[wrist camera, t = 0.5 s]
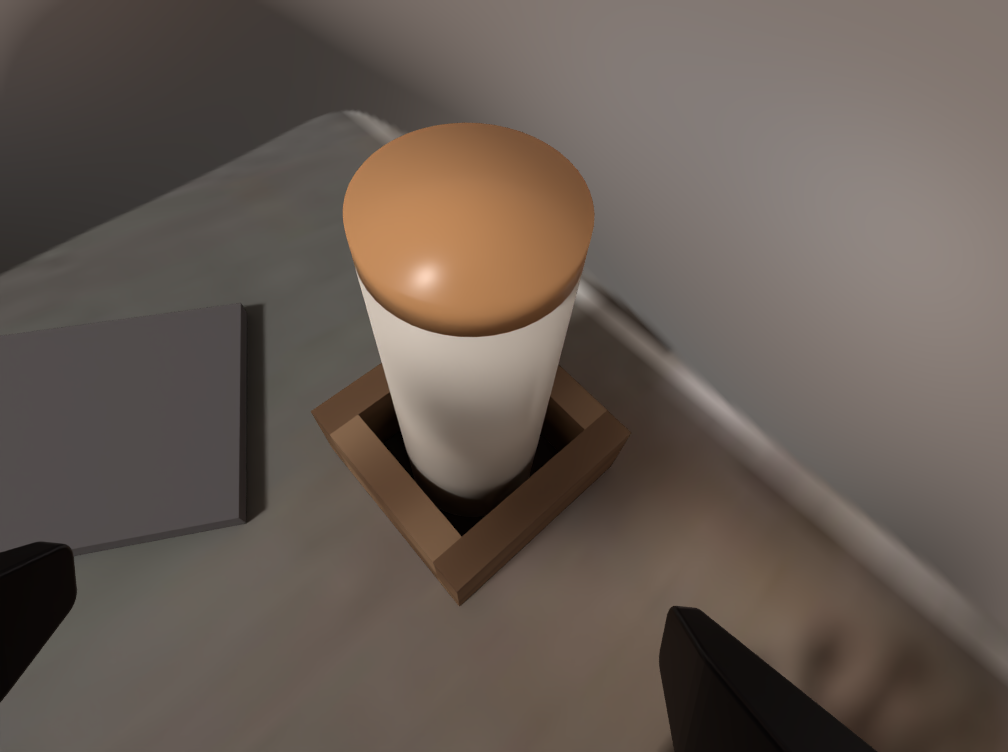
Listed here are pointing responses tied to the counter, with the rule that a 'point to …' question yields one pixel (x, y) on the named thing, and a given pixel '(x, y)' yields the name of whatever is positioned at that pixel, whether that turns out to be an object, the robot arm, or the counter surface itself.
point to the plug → (469, 296)
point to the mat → (124, 430)
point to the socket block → (508, 527)
